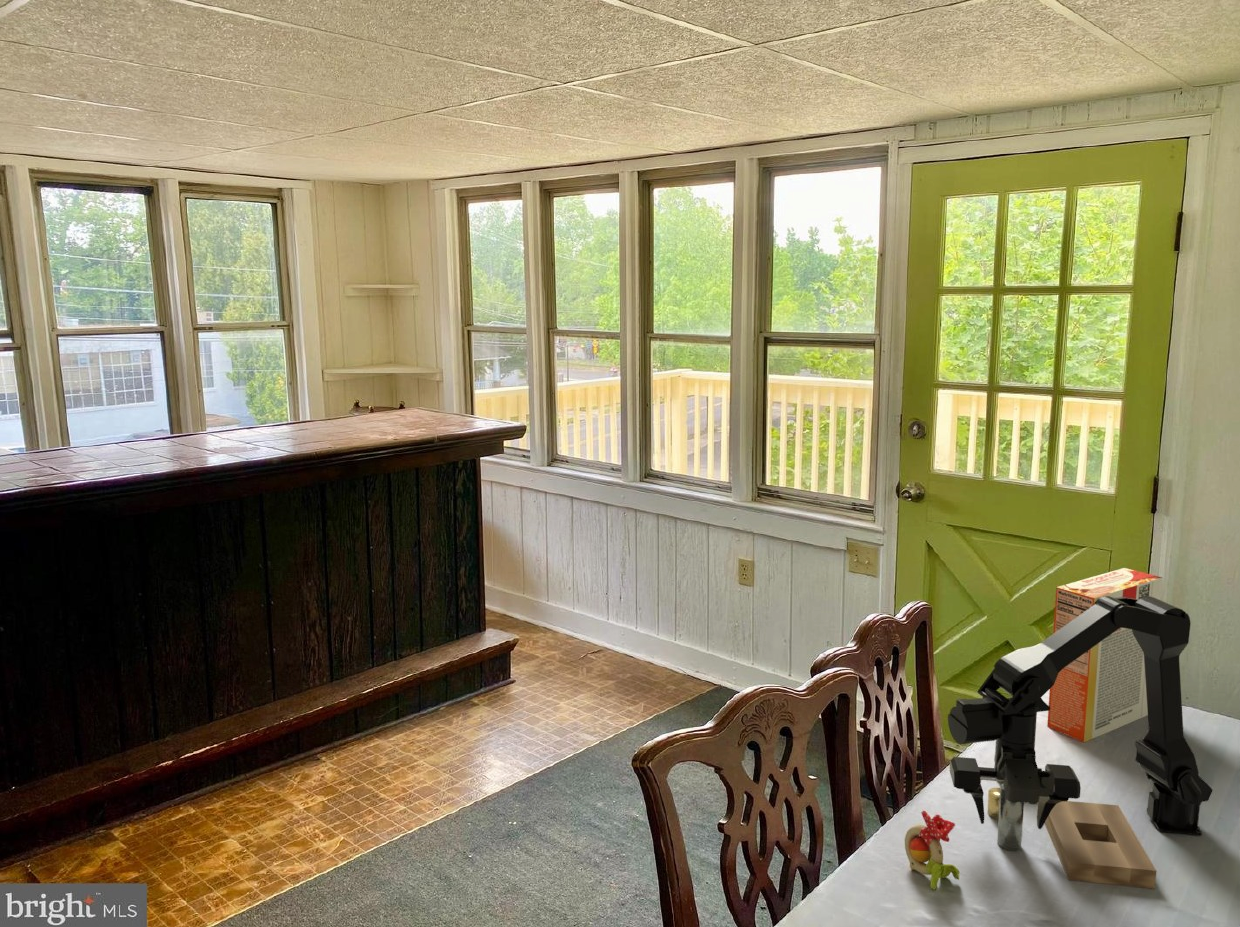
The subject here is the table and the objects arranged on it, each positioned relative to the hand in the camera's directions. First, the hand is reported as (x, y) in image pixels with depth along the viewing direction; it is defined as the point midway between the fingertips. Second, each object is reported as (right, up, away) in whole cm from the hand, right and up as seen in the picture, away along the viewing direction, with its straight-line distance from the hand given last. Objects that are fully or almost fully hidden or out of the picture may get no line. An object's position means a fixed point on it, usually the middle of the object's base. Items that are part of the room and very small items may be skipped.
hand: (1010, 825), depth 148 cm
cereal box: (+37, +5, +42) cm, 56 cm away
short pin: (+2, -2, +9) cm, 10 cm away
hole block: (+13, -3, -1) cm, 14 cm away
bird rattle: (-16, -6, -7) cm, 18 cm away
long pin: (0, -3, +1) cm, 4 cm away
